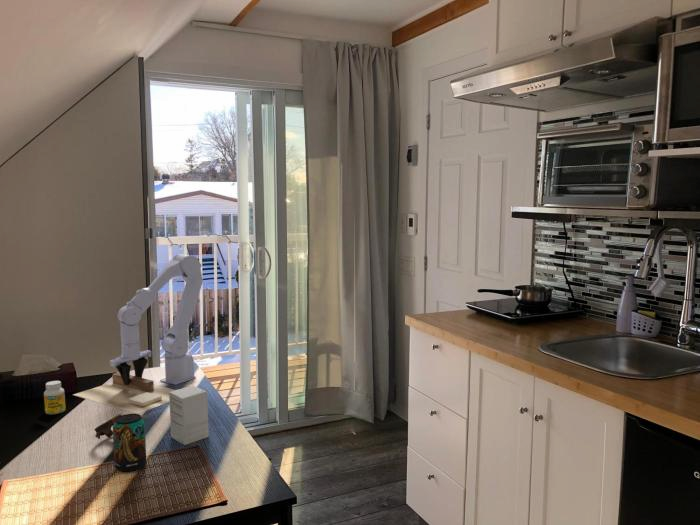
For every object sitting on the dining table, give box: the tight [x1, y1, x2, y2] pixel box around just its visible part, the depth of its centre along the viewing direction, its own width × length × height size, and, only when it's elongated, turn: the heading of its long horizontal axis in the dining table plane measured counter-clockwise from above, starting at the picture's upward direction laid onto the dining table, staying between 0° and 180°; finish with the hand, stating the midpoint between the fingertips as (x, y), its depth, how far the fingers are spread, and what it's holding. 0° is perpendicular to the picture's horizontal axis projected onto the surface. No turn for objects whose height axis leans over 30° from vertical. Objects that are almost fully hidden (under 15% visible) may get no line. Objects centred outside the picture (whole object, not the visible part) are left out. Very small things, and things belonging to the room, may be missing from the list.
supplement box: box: [168, 385, 210, 446], centre depth 151 cm, size 7×7×13 cm
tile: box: [128, 392, 162, 406], centre depth 176 cm, size 7×1×7 cm
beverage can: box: [111, 413, 148, 474], centre depth 134 cm, size 7×7×12 cm
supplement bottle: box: [43, 380, 66, 415], centre depth 168 cm, size 5×5×10 cm
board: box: [72, 381, 176, 416], centre depth 183 cm, size 20×32×1 cm, turn 58°
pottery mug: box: [94, 413, 144, 440], centre depth 150 cm, size 12×10×8 cm
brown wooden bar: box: [112, 371, 155, 392], centre depth 190 cm, size 2×18×3 cm, turn 58°
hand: (132, 382), depth 190 cm, fingers open, 4 cm apart
